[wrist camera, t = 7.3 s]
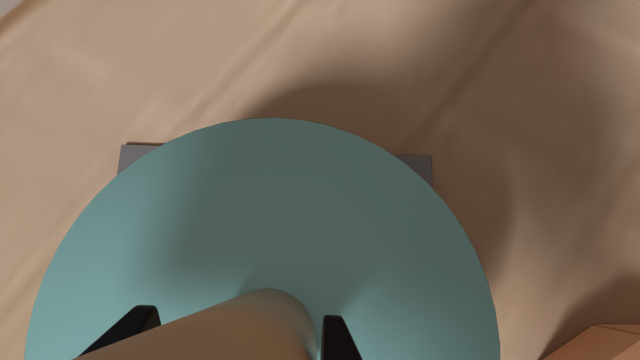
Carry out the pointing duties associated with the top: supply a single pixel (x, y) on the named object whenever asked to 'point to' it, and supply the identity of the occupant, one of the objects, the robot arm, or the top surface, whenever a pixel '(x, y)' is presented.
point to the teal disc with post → (266, 255)
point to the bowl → (602, 344)
